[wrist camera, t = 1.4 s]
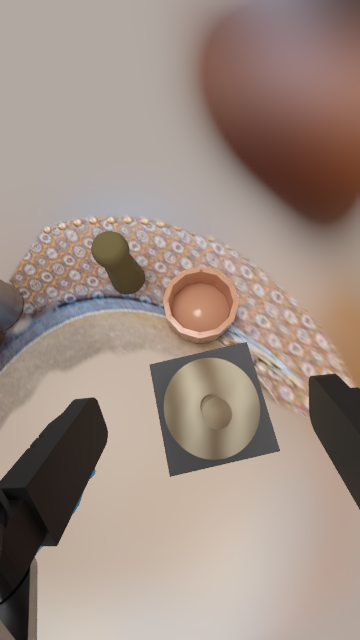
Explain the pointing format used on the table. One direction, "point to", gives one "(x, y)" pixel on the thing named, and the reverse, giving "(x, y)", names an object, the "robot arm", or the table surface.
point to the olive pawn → (118, 262)
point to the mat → (175, 453)
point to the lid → (211, 408)
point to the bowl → (200, 304)
